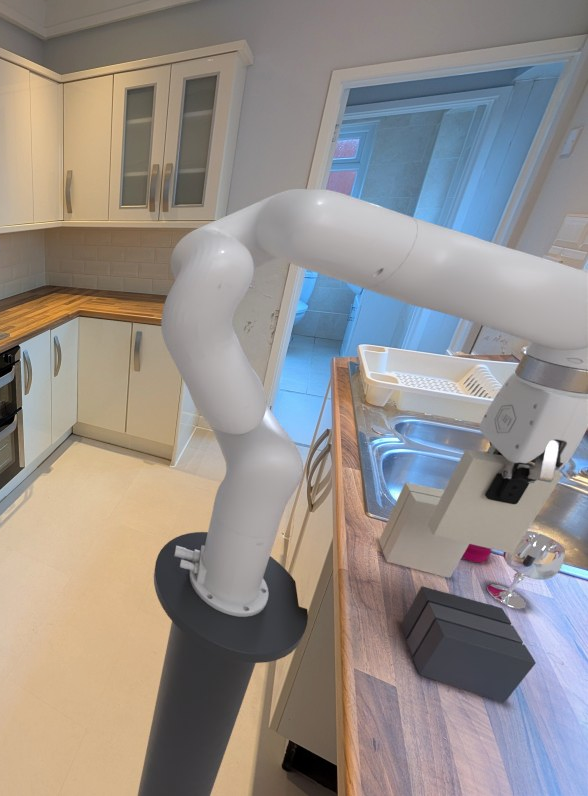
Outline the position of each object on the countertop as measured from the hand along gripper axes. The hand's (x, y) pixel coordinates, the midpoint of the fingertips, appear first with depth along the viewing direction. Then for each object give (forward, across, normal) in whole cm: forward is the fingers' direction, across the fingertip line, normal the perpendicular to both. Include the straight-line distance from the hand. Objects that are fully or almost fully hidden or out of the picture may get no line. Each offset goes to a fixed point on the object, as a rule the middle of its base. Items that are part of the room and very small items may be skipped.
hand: (494, 492), depth 59 cm
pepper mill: (+23, -16, +9) cm, 29 cm away
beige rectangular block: (+22, -9, 0) cm, 24 cm away
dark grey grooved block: (+22, +11, -2) cm, 25 cm away
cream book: (+9, 0, 0) cm, 9 cm away
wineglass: (+23, -6, +11) cm, 26 cm away
